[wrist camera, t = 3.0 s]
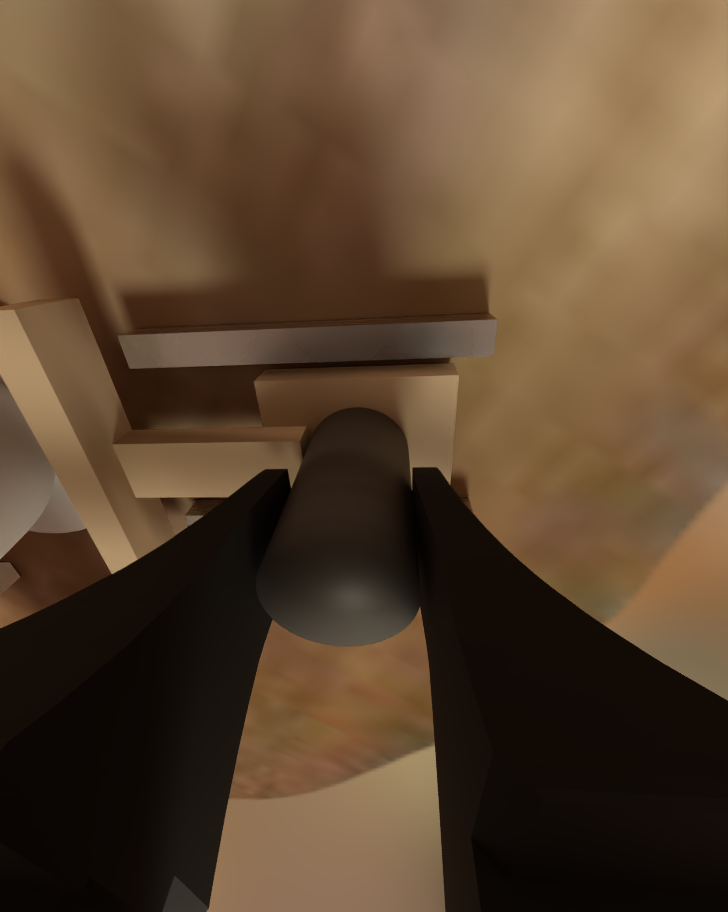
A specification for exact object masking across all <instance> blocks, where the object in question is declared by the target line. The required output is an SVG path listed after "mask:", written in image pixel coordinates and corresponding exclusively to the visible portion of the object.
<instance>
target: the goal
mask: <svg viewBox="0 0 728 912" xmlns="http://www.w3.org/2000/svg"><path fill="white" fill-rule="evenodd" d="M19 578H20V576H19V574H18V573H17V572H16V570H15V569H14V567H13V566H12V565H11V563H10V562H0V595H1V594H2V593H3V592H4V591H6V590H7V589H8V588H9V587H10V586H11V585H12V584H13V583H14V582H16V581H17V580H18V579H19Z"/></svg>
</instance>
